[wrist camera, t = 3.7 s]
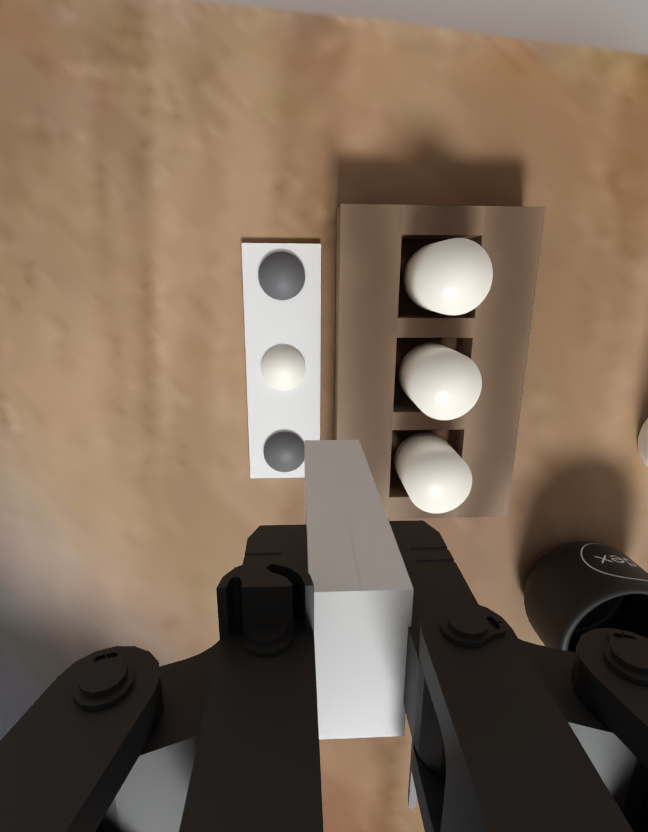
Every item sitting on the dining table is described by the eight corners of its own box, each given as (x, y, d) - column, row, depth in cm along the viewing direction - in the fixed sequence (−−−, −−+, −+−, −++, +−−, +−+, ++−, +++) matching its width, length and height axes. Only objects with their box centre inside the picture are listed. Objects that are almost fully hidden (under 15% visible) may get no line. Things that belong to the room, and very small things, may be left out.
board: (332, 500, 36) (335, 519, 33) (336, 210, 30) (340, 203, 28) (490, 497, 37) (507, 516, 34) (522, 213, 31) (545, 206, 28)
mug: (532, 523, 37) (584, 578, 31) (638, 538, 38) (713, 595, 32) (490, 650, 41) (530, 725, 34) (590, 661, 42) (647, 737, 35)
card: (250, 476, 35) (250, 478, 35) (241, 243, 31) (241, 242, 30) (319, 475, 35) (319, 478, 35) (320, 244, 31) (320, 243, 30)
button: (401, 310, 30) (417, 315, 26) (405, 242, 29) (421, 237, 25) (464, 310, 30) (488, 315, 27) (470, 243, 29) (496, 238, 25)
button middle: (397, 403, 32) (410, 420, 28) (400, 342, 31) (414, 351, 27) (456, 402, 32) (478, 419, 28) (461, 342, 31) (485, 351, 27)
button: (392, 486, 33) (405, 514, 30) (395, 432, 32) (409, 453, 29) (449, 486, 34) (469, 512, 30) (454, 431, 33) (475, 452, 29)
